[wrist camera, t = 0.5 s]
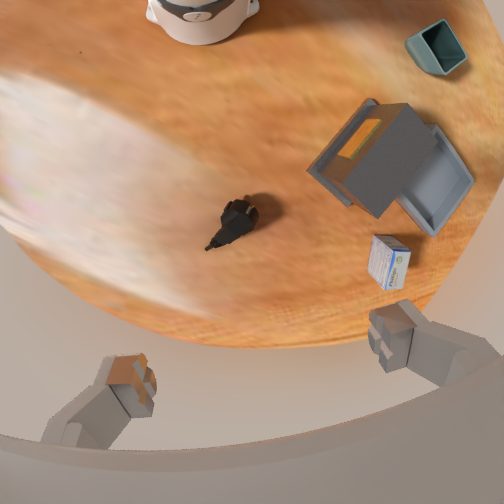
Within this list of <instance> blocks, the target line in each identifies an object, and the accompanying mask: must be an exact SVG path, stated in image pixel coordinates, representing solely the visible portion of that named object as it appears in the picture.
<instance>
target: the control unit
mask: <svg viewBox="0 0 504 504" xmlns="http://www.w3.org/2000/svg"><path fill="white" fill-rule="evenodd" d="M437 143H438V141H437V139H436V138H435V137H434V135H433V134H432V133H431V131H430V130H429V129H428V127H427V126H426V125H425V124H424V122H423V121H422V120H421V119H420V117H419V116H418V115H417V114H416V113H415V111H414V110H413V109H412V108H411V107H410V105H409V104H408V103H397V104H383V105H377V104H376V103H375V102H374V101H373V100H372V99H371V98H367V99H366V100H365V101H364V102H363V104H362V105H361V106H360V107H359V108H358V109H357V111H356V112H355V113H354V114H353V115H352V117H351V118H350V119H349V120H348V121H347V122H346V124H345V125H344V126H343V127H342V128H341V130H340V131H339V132H338V133H337V134H336V135H335V137H334V138H333V139H332V140H331V141H330V143H329V144H328V145H327V146H326V147H325V149H324V150H323V151H322V152H321V153H320V155H319V156H318V157H317V158H316V159H315V161H314V162H313V163H312V164H311V165H310V167H309V168H308V169H307V170H306V171H307V172H308V173H309V174H310V175H311V176H313V177H314V178H315V179H316V180H317V181H318V182H319V183H321V184H322V185H323V186H324V187H325V188H326V189H327V190H328V191H330V192H331V193H332V194H333V195H334V196H335V197H336V198H337V199H338V200H340V201H341V202H342V203H343V204H344V205H345V206H346V207H349V206H350V205H351V203H353V204H355V205H357V206H358V207H360V208H361V209H363V210H364V211H366V212H367V213H369V214H370V215H372V216H374V217H375V218H377V219H378V218H379V217H380V216H381V215H382V214H383V212H384V211H385V210H386V209H387V208H388V206H389V205H390V204H391V203H392V201H393V200H394V199H395V198H396V196H397V195H398V194H399V193H400V191H401V190H402V189H403V188H404V186H405V185H406V184H407V183H408V181H409V180H410V179H411V177H412V176H413V175H414V174H415V172H416V171H417V170H418V168H419V167H420V166H421V164H422V163H423V162H424V161H425V159H426V158H427V157H428V155H429V154H430V153H431V151H432V150H433V148H434V147H435V146H436V144H437Z"/></svg>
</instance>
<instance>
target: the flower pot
mask: <svg viewBox="0 0 504 504" xmlns="http://www.w3.org/2000/svg"><path fill="white" fill-rule="evenodd" d="M405 48H406V49H407V51H408V52H409V54H410V55H411V57H412V58H413V60H414V61H415V63H416V64H417V66H418V67H419V68H420V69H421V70H423V71H424V72H426V73H429V74H436V75H447V74H449V73H450V72H451V71H452V70H453V69H455V68H456V67H457V66H458V65H460V64H461V63H462V62H464V61H465V60H467V58H468V56H467V54H466V52H465V50H464V49H463V47H462V45H461V44H460V42H459V40H458V39H457V37H456V35H455V34H454V32H453V30H452V29H451V27H450V26H449V24H448V23H447V21H446V20H445V19H444V18H443V19H441V20H439V21H437V22H435V23H433V24H431V25H429V26H427V27H426V28H424V29H422V30H421V31H419V32H418V33H416V34H414V35H413V36H411V37H409V38H408V39H407V40H406V42H405Z"/></svg>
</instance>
